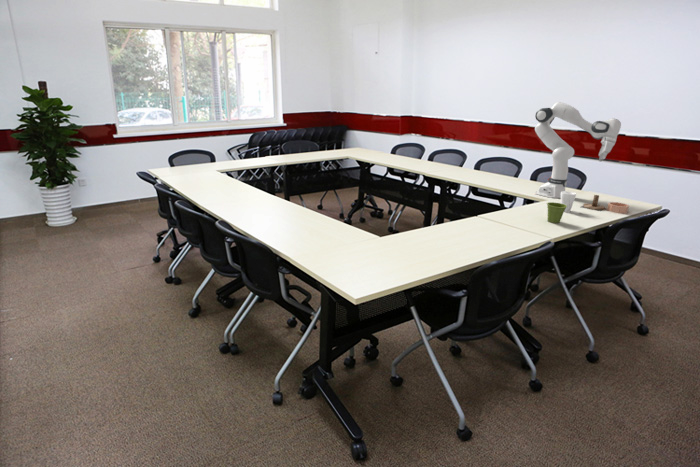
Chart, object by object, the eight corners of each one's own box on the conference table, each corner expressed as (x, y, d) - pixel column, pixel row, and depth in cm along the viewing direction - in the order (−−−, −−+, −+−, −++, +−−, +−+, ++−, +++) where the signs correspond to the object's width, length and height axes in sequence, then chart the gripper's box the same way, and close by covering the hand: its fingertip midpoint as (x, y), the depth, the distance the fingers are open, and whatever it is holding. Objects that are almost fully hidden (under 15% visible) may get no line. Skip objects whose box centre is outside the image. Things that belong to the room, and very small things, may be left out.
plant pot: (549, 224, 277) (552, 207, 273) (540, 219, 288) (543, 202, 284) (567, 224, 278) (571, 207, 274) (557, 219, 289) (560, 202, 285)
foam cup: (574, 213, 303) (577, 194, 299) (559, 212, 305) (563, 193, 301) (570, 209, 312) (573, 191, 308) (556, 208, 314) (559, 190, 310)
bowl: (605, 211, 312) (606, 204, 310) (610, 208, 320) (611, 201, 318) (624, 214, 304) (625, 207, 302) (629, 211, 312) (630, 204, 310)
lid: (580, 207, 318) (582, 195, 315) (587, 204, 327) (589, 192, 325) (601, 211, 309) (604, 198, 306) (607, 208, 318) (610, 195, 315)
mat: (579, 207, 318) (579, 207, 318) (586, 204, 328) (586, 203, 328) (600, 211, 309) (600, 211, 309) (606, 208, 319) (606, 207, 318)
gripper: (600, 143, 328) (593, 161, 329) (607, 137, 308) (600, 156, 309) (609, 145, 326) (602, 163, 327) (617, 139, 306) (610, 158, 307)
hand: (601, 160), depth 318 cm, fingers open, 8 cm apart
